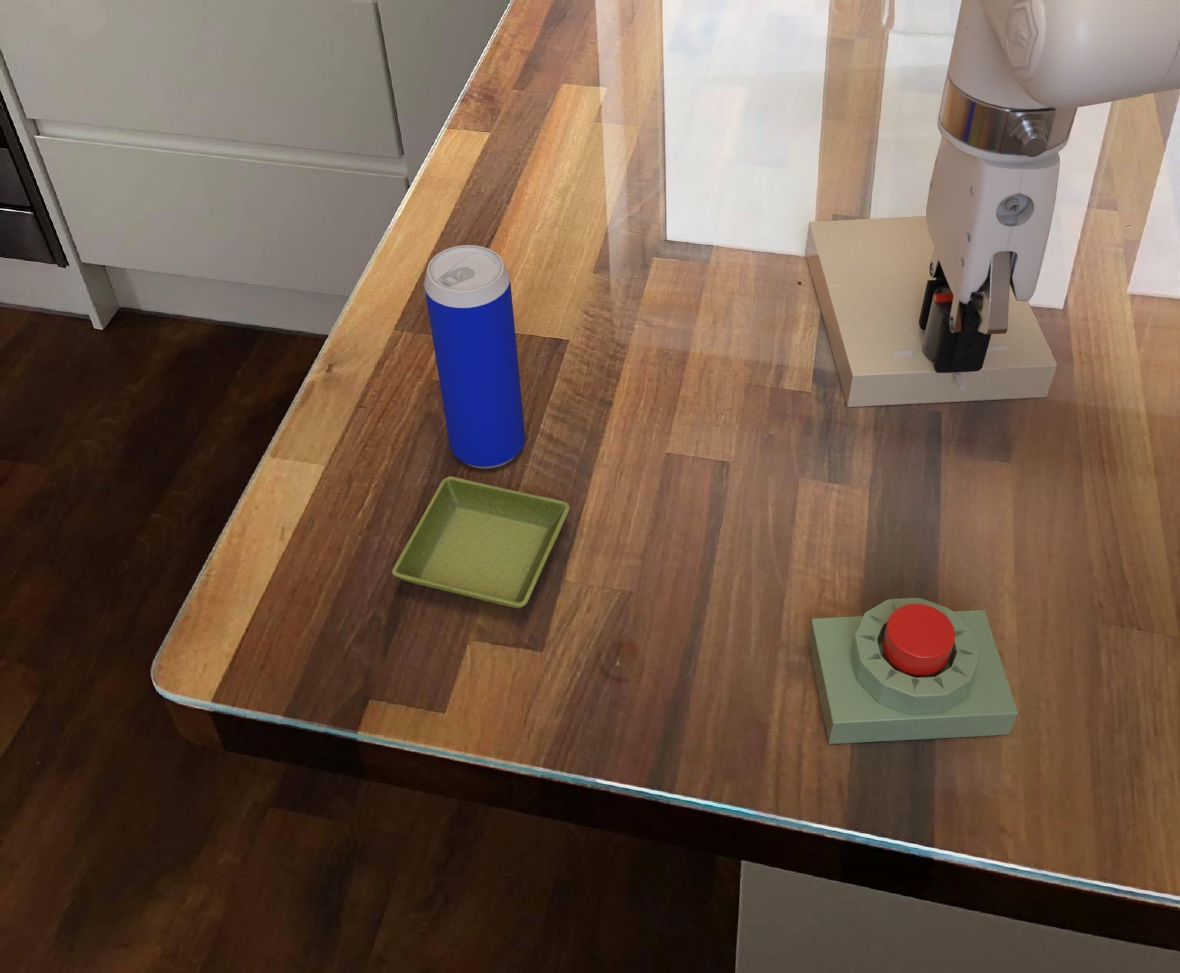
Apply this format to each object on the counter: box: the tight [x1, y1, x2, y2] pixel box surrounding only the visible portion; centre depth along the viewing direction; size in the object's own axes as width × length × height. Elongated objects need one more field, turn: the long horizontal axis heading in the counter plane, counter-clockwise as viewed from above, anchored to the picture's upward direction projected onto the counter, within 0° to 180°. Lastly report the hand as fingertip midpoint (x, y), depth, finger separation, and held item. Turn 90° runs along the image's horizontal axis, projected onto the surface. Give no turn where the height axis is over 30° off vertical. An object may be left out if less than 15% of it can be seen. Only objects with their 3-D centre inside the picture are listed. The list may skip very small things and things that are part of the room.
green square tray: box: [391, 475, 571, 609], centre depth 76 cm, size 9×9×2 cm
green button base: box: [807, 597, 1019, 745], centre depth 68 cm, size 10×7×4 cm
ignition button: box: [883, 604, 955, 676], centre depth 66 cm, size 4×4×2 cm
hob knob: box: [922, 284, 983, 363], centre depth 83 cm, size 4×4×5 cm
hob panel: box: [804, 215, 1058, 408], centre depth 90 cm, size 14×20×3 cm
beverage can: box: [423, 244, 526, 470], centre depth 78 cm, size 5×5×15 cm
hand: (949, 345), depth 84 cm, fingers closed on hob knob, 3 cm apart
